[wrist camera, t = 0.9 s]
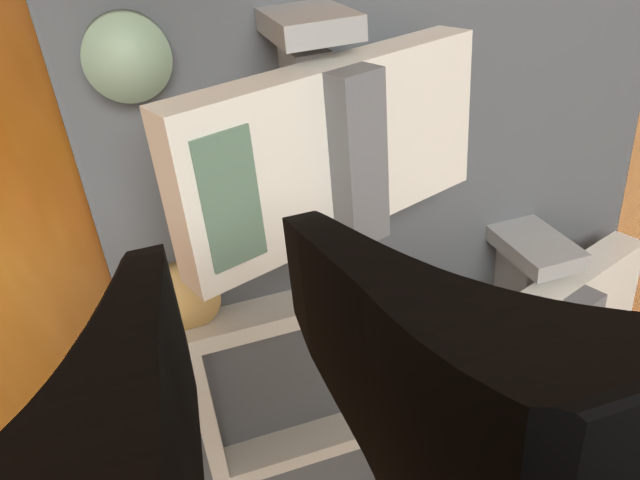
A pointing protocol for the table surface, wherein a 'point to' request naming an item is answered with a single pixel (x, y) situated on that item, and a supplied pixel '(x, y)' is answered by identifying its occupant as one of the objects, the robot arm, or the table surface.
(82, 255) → the table surface
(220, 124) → the rocker
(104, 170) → the breaker panel
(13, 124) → the table surface
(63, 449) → the robot arm
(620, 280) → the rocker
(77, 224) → the table surface
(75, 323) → the table surface
